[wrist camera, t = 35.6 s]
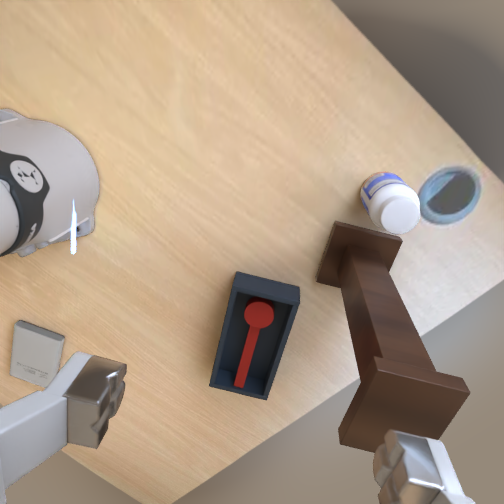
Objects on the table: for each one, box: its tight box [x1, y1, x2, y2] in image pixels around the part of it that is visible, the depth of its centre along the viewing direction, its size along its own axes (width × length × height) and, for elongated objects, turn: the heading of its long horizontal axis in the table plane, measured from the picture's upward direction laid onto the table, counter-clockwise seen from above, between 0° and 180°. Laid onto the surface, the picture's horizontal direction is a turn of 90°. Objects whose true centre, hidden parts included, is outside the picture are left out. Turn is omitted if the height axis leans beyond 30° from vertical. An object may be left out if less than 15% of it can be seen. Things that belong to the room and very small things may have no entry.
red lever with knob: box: [234, 296, 274, 388], centre depth 56 cm, size 16×4×2 cm, turn 167°
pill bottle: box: [360, 172, 420, 234], centre depth 42 cm, size 5×5×10 cm
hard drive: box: [9, 320, 65, 388], centre depth 65 cm, size 2×8×12 cm
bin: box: [209, 272, 300, 400], centre depth 57 cm, size 20×10×4 cm, turn 167°
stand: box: [316, 221, 470, 453], centre depth 40 cm, size 10×9×26 cm
